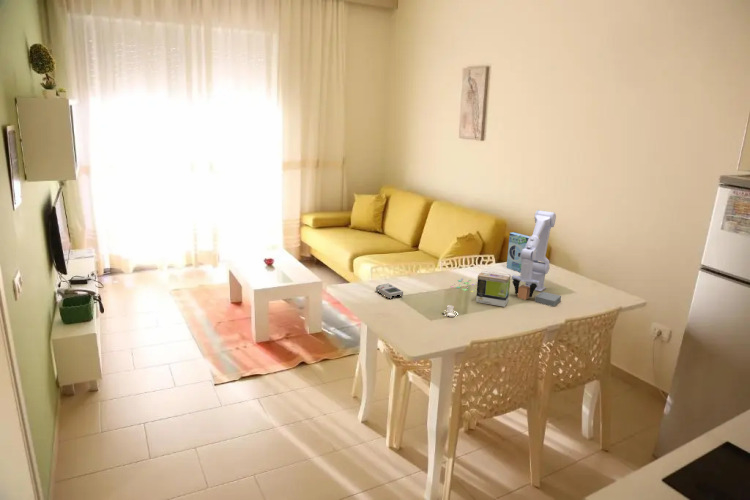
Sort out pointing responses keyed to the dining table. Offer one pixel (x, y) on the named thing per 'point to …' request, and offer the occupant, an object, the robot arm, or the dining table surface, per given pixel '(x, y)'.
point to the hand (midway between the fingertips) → (523, 295)
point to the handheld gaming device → (389, 290)
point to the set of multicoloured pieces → (465, 283)
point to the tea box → (493, 288)
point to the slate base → (548, 298)
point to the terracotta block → (523, 292)
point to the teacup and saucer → (450, 311)
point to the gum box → (516, 250)
